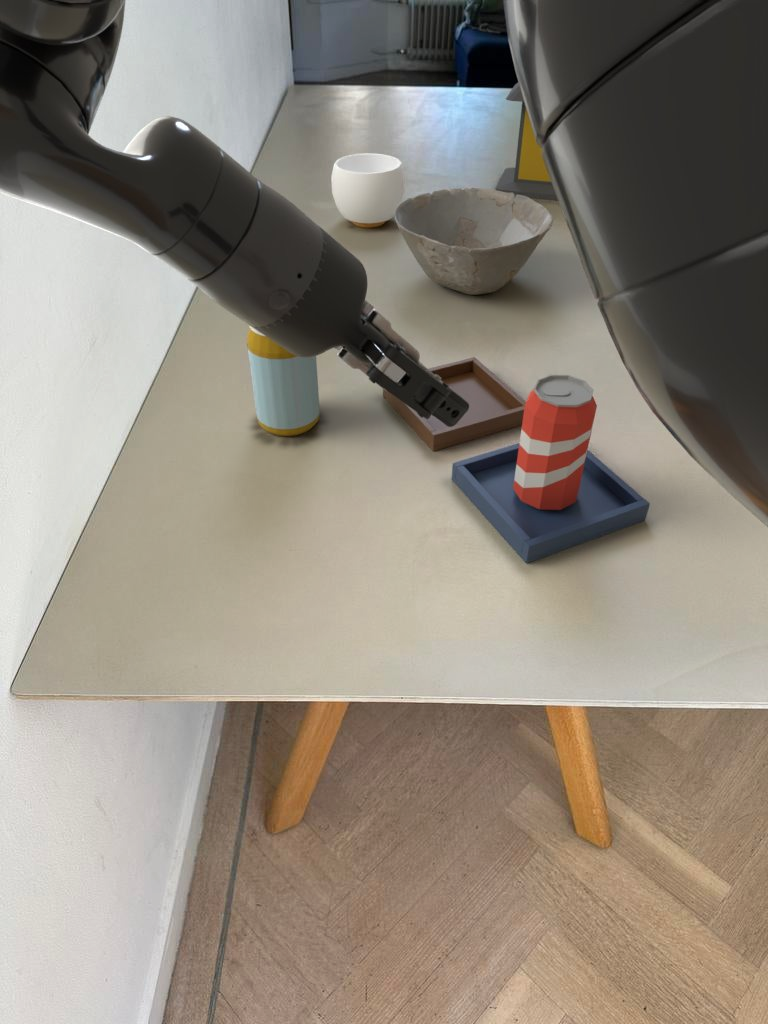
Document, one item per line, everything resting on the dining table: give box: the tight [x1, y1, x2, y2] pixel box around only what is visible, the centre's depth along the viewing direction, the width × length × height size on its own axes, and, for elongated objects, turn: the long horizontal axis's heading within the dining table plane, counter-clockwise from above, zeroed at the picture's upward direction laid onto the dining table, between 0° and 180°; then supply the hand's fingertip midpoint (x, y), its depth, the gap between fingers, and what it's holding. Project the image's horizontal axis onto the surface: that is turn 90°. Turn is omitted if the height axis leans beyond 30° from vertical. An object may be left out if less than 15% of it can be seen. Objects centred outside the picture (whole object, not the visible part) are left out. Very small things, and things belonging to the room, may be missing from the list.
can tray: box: [451, 442, 651, 564], centre depth 74 cm, size 14×14×2 cm
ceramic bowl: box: [394, 187, 553, 296], centre depth 110 cm, size 22×23×10 cm
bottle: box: [246, 325, 321, 437], centre depth 81 cm, size 7×7×15 cm
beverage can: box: [513, 374, 598, 510], centre depth 71 cm, size 6×6×12 cm
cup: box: [330, 152, 406, 228], centre depth 129 cm, size 12×12×10 cm
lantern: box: [495, 82, 558, 201], centre depth 136 cm, size 14×14×30 cm
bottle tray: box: [382, 356, 527, 452], centre depth 87 cm, size 12×12×2 cm
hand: (431, 387), depth 58 cm, fingers open, 8 cm apart
